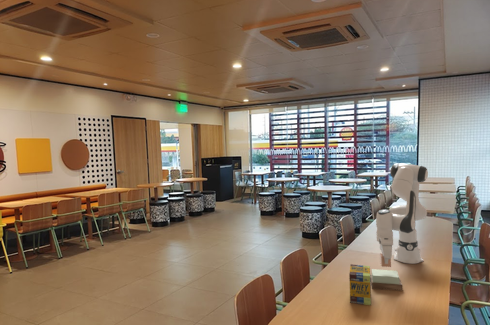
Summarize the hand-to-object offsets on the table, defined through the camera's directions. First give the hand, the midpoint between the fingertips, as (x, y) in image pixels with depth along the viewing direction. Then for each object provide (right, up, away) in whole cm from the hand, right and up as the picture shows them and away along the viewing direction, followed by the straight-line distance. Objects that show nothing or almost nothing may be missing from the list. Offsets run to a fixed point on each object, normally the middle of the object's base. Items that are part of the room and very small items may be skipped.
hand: (385, 261), depth 188 cm
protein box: (-19, -16, -12) cm, 28 cm away
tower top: (0, -11, +1) cm, 11 cm away
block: (0, -2, 0) cm, 2 cm away
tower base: (+1, -15, +2) cm, 15 cm away
